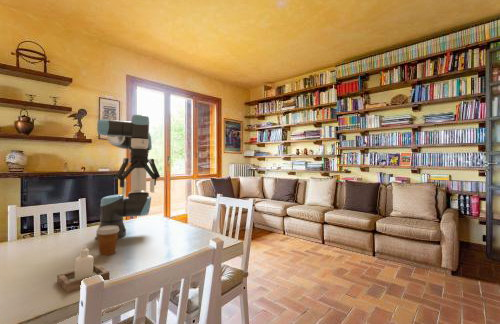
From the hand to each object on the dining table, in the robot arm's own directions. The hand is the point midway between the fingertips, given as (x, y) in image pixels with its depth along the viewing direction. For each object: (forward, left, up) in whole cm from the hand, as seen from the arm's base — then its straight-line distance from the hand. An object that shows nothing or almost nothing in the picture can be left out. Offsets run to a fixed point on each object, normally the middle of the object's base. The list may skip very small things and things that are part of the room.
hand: (138, 193), depth 118 cm
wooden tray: (+11, -26, -28) cm, 40 cm away
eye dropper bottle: (+11, -25, -28) cm, 39 cm away
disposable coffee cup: (-11, -9, -29) cm, 32 cm away
